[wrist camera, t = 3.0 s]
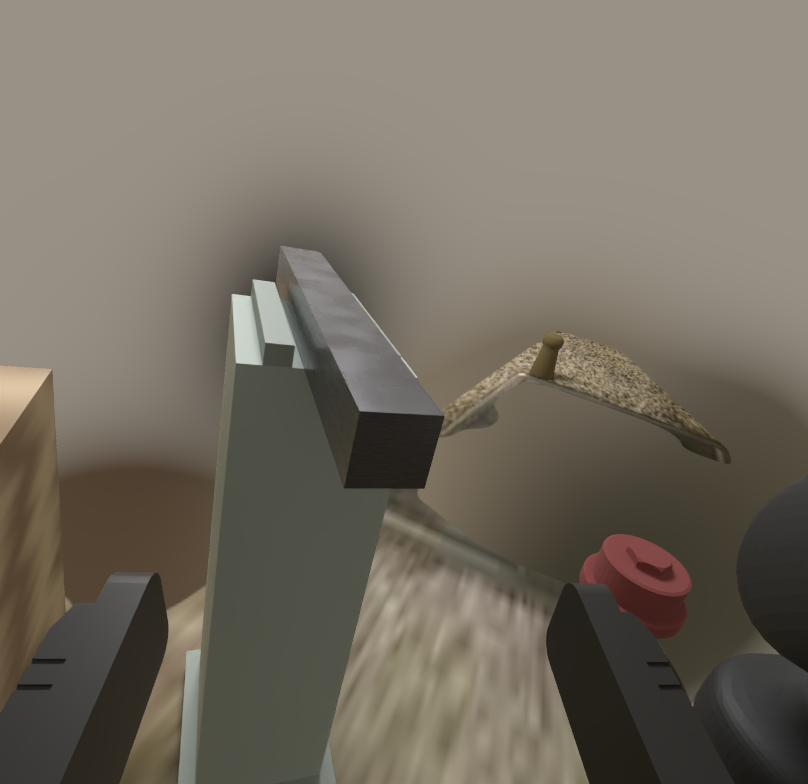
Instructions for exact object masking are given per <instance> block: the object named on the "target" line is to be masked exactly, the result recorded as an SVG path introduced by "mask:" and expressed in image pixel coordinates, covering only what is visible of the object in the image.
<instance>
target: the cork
mask: <svg viewBox="0 0 808 784" xmlns="http://www.w3.org/2000/svg"><path fill="white" fill-rule="evenodd" d="M542 343H543V346H542V348H541V350H540V352H539V354H538V356H537V358H536V360H535V362H534V364H533V366H532V368H531V370H530V373H531V374H533V375H534V376H536V377H539V378H542V379H548V380H550V379H553V375H554V370H555V365H556V361H557V356H558V351H559V349H560V348H562V346H563V344H564V340H563V338H562V337H561V336H559V335H557V334H553V333H548V334H546V335H544V337H543V341H542Z"/></svg>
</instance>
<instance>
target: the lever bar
mask: <svg viewBox="0 0 808 784" xmlns="http://www.w3.org/2000/svg"><path fill="white" fill-rule="evenodd" d="M276 286H277V289H278V292H279V295H280V298H281V301H282V304H283V307H284V310H285V313H286V316H287V319H288V322H289V325H290V328H291V331H292V334H293V337H294V340H295V343H296V346H297V349H298V352H299V355H300V358H301V361H302V364H303V367H304V370H305V373H306V376H307V379H308V382H309V385H310V388H311V391H312V394H313V397H314V400H315V403H316V406H317V409H318V412H319V415H320V418H321V421H322V424H323V427H324V430H325V433H326V436H327V439H328V442H329V445H330V448H331V451H332V454H333V457H334V460H335V463H336V466H337V469H338V472H339V475H340V478H341V481H342V484H343V487H344V489H420V488H421V489H422V488H423V489H424V488H425V484H426V481H427V477H428V474H429V470H430V467H431V463H432V459H433V456H434V452H435V449H436V445H437V441H438V438H439V434H440V431H441V427H442V424H443V420H444V414H443V413H442V412H441V410H440V409H439V408H438V406H437V405H436V404H435V403H434V401H433V400H432V399H431V397H430V396H429V395H428V393H427V392H426V391H425V389H424V388H423V387H422V385H421V384H420V383H419V382H418V380H417V379H416V378H415V376H414V375H413V374H412V372H411V371H410V370H409V368H408V367H407V366H406V364H405V363H404V362H403V360H402V359H401V358H400V357H399V355H398V354H397V353H396V351H395V350H394V349H393V347H392V346H391V345H390V343H389V342H388V341H387V339H386V338H385V337H384V335H383V334H382V333H381V332H380V330H379V329H378V328H377V326H376V325H375V324H374V322H373V321H372V320H371V318H370V317H369V316H368V314H367V313H366V312H365V311H364V309H363V308H362V307H361V305H360V304H359V303H358V301H357V300H356V299H355V297H354V296H353V295H352V293H351V292H350V291H349V289H348V288H347V287H346V286H345V284H344V283H343V282H342V280H341V279H340V278H339V276H338V275H337V274H336V272H335V271H334V270H333V269H332V267H331V266H330V265H329V263H328V262H327V261H326V260H325V258H324V257H323V255H322V254H321V253H320V252H316V251H310V250H304V249H298V248H292V247H286V246H281V247H280V256H279V263H278V272H277V280H276Z"/></svg>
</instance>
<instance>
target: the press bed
mask: <svg viewBox="0 0 808 784" xmlns="http://www.w3.org/2000/svg"><path fill="white" fill-rule="evenodd" d="M58 485H59V484H58V466H57V450H56V430H55V412H54V394H53V375H52V369H41V368H27V367H12V366H0V712H1V711H2V709H3V707H4V706H5V704H6V702H7V700H8V699H9V697H10V695H11V694H12V692H13V691H15V690H16V688H17V683H18V682H19V680H20V678H21V677H22V675H23V673H24V671H25V670H26V668H27V666H28V665H30V664H31V663H32V658H33V656H34V654H35V653H36V651H37V649H38V647H39V646H40V644H41V642H42V641H43V639H44V637H45V636H46V634H47V632H48V630H49V629H50V628H51V627H52V626H53V625H54V624H55V623H56V622H57V621H58V620H59V619H60V618H61V617H62V616H63V615H64V614H65V613H66V612H65V593H64V575H63V558H62V539H61V522H60V504H59V503H60V502H59V486H58Z"/></svg>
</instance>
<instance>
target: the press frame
mask: <svg viewBox="0 0 808 784" xmlns="http://www.w3.org/2000/svg"><path fill="white" fill-rule="evenodd" d="M352 295H353V296H354V297H355V299H356V300H357V301H358V299H357V298H356V296H355V295H354V294H353V293H352ZM358 303H359V304H360V305H361V307H362V308H363V309H364V311H365V312H366V313H367V314H368V316H369V317H370V318H371V320H372V321H373V322H374V324H375V325H376V326H377V328H378V329H379V330H380V332H381V333H382V334H383V335H384V337H385V338H386V339H387V341H388V342H389V343H390V345H391V346H392V347H393V349H394V350H395V351H396V353H397V354H398V355H399V357H400V358H401V359H402V360H403V362H404V363H405V364H406V366H407V367H408V368H409V370H410V371H411V372H412V374H413V375H414V376H415V378H416V379H417V380H418V377H417V376H416V375H415V374H414V372H413V371H412V370H411V368H410V367H409V366H408V364H407V363H406V362H405V361H404V359H403V358H402V357H401V355H400V354H399V352H398V351H397V350H396V348H395V347H394V346H393V345H392V343H391V342H390V341H389V339H388V338H387V337H386V335H385V334H384V333H383V332H382V330H381V329H380V328H379V326H378V325H377V324H376V322H375V321H374V320H373V319H372V317H371V316H370V315H369V313H368V312H367V311H366V309H365V308H364V307H363V306H362V304H361V303H360V302H359V301H358ZM389 493H390V489H344V487H343V484H342V481H341V478H340V475H339V472H338V469H337V466H336V463H335V460H334V457H333V454H332V451H331V448H330V445H329V442H328V439H327V436H326V433H325V430H324V427H323V424H322V421H321V418H320V415H319V412H318V409H317V406H316V403H315V400H314V397H313V394H312V391H311V388H310V385H309V382H308V379H307V376H306V373H305V370H304V367H303V364H302V361H301V358H300V355H299V352H298V349H297V346H296V343H295V340H294V337H293V334H292V331H291V328H290V325H289V322H288V319H287V316H286V313H285V310H284V307H283V304H282V301H281V300H280V298H279V295H278V292H277V289H276V286H275V283H274V282H267V281H260V280H253V283H252V293H251V296H243V295H234V294H232V299H231V311H230V323H229V334H228V345H227V357H226V368H225V379H224V391H223V402H222V414H221V425H220V436H219V447H218V459H217V470H216V482H215V493H214V504H213V516H212V528H211V539H210V550H209V551H210V552H209V562H208V573H207V584H206V596H205V607H204V618H203V630H202V641H201V650H191V651H187V657H186V671H185V686H184V700H183V715H182V730H181V745H180V760H179V775H178V784H336V781H335V775H334V769H333V764H332V758H331V752H330V746H329V740H328V738H329V734H330V730H331V726H332V722H333V718H334V714H335V710H336V706H337V702H338V698H339V694H340V690H341V686H342V682H343V678H344V674H345V670H346V666H347V662H348V658H349V654H350V650H351V646H352V642H353V638H354V634H355V630H356V626H357V622H358V618H359V614H360V610H361V606H362V602H363V597H364V593H365V589H366V585H367V581H368V577H369V573H370V569H371V565H372V561H373V557H374V553H375V549H376V545H377V541H378V537H379V533H380V529H381V525H382V521H383V517H384V513H385V509H386V505H387V501H388V497H389Z"/></svg>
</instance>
